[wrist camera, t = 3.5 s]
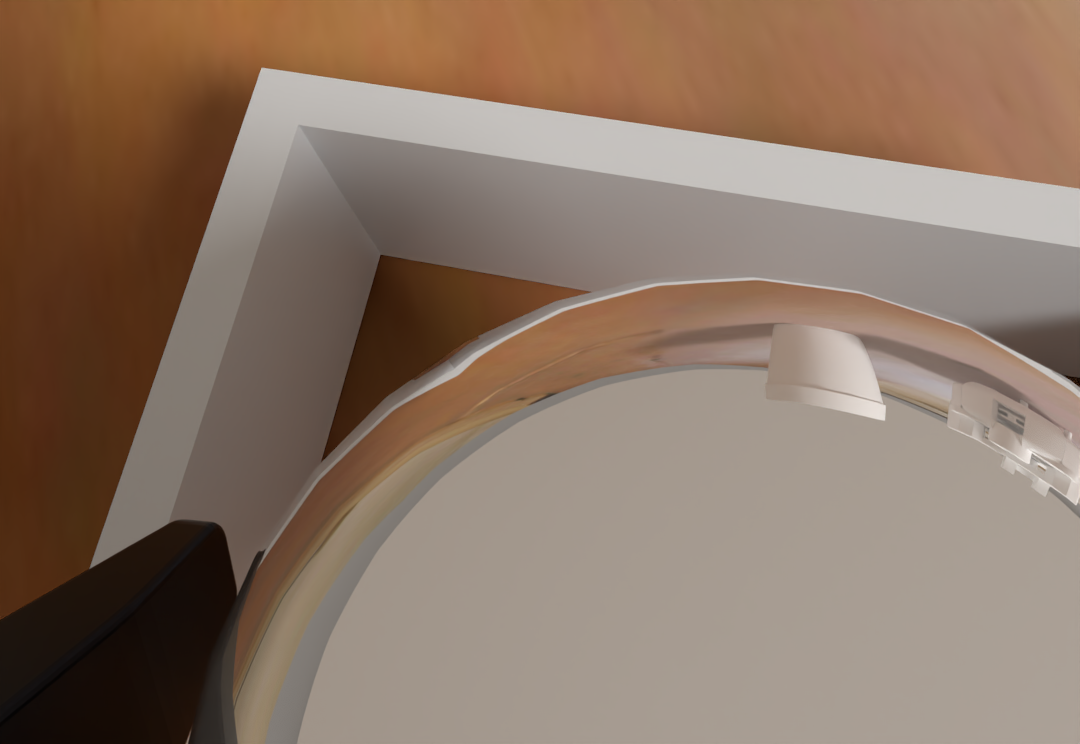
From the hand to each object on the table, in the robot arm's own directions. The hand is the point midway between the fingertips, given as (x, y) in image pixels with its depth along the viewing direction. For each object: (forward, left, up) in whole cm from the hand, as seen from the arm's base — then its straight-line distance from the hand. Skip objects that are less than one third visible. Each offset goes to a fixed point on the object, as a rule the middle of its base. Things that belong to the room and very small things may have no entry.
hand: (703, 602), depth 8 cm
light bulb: (-1, 0, -7) cm, 7 cm away
